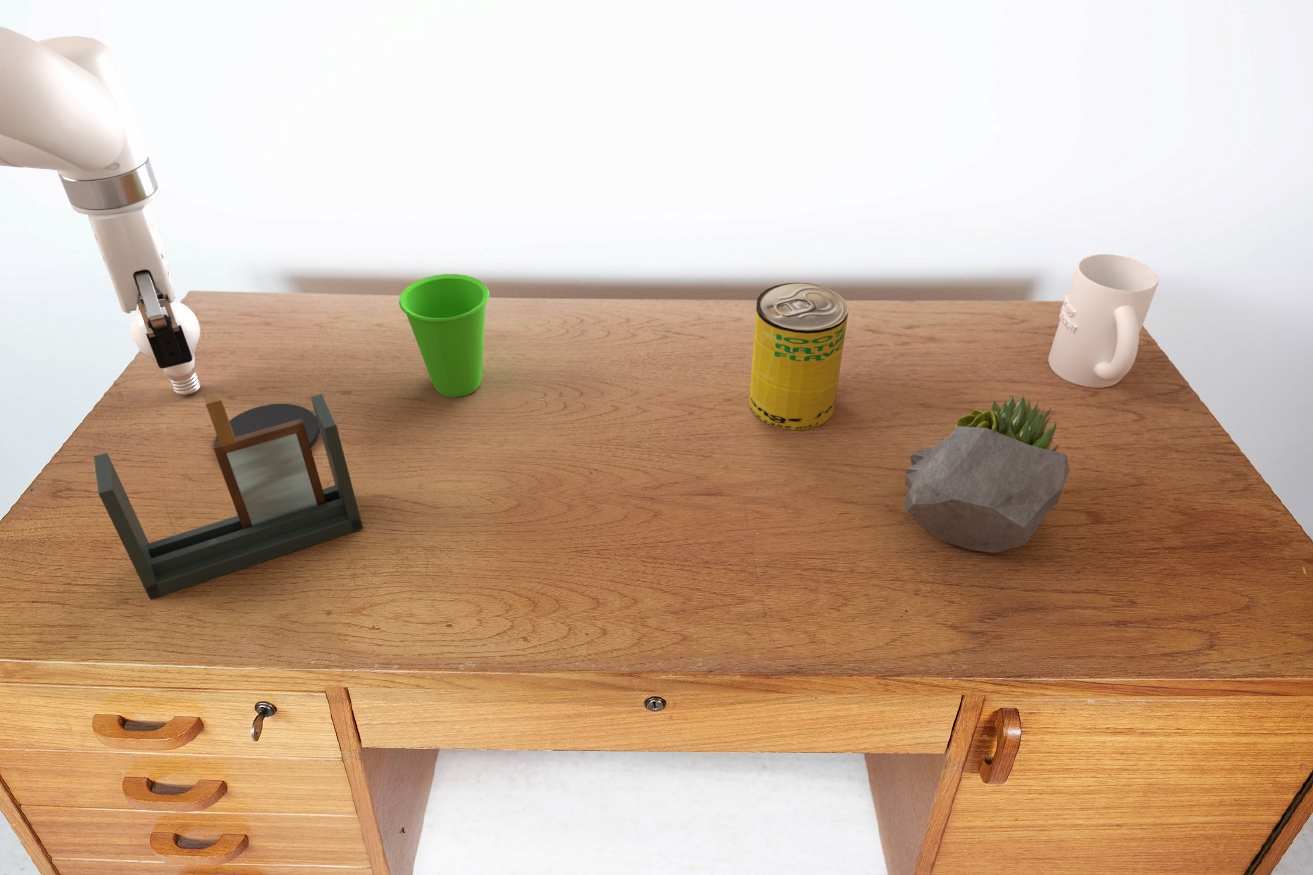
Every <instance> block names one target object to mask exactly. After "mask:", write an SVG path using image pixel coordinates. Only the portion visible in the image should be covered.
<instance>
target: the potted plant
mask: <svg viewBox="0 0 1313 875" xmlns="http://www.w3.org/2000/svg"><path fill="white" fill-rule="evenodd" d="M995 399H996V398H993V401H992V402H993V403H992V407H991V409H988V410H985V411H983V409H981V408H978V409H973V410H971V411H970V413H968V414H965V415H963V416H961V417H960V418H959V419H958V420H957V422H956V425H955V427H954V428H953V430H952V432H950V434H948V435H947V436H946V437H945V438H941V440H940V441H939V442H937V443H936V444H935V445H934V446H933V447H931V448H926V449H918V450H915V451H913V453H912V454H911V455H910V457H909V458H910V463H911V464H912V465H911V466H909V467H907V468H906V469H905V479H904V480H905V481H904V486H905V487H906V488H907V489H908V491H907V493H906V495H905V497H904V500H903V503H902V504H903V506H904V508H905V511H906V512H907V513H908V514H909V515H910V516H911V517H912V518H913V519H914V520H915V521H916V523H917V524H918V525H919V526H920V527H921V528H922V529H924V530H925V531H926V532H927V533H929V534H931V535H932V536H933V537H935V539H937V540H938V541H941V542H944V543H947V544H950V545H953V546H956V547H959V548H963V549H966V550H969V551H973V552H974V551H975V552H983V553H991V554H998V553H1002V552H1005V551H1008V550H1013V549H1015V548H1018V547H1022V546H1026V545H1027V544H1028V542H1029V541H1030V539H1031V537H1033V535H1034V533H1035V532H1036V530H1037V529H1038V527H1039V526H1040V524H1041V523H1042V521H1043V520H1044V518H1045V517H1046V516H1047V514H1049V512H1050V511H1051V510H1052V509H1053V508H1054V507H1056V505H1057V504H1058V502H1059V499H1060V497H1061V495H1062V492H1063V489H1064V486H1065V484H1066V481H1067V479H1068V476H1069V473H1070V466H1069V461H1068V456H1067V454H1066V453H1062V452H1058V451H1057V450H1058V448H1059V446H1060V443H1059V444H1057V445H1056V446H1055V447H1053V448H1052V449H1051V446H1052V442H1053V438H1054V435H1055V432H1056V429H1057V420H1056V421H1055V422H1054V425H1053V426H1052V427H1051V426H1050V427H1048V428H1047V425H1048V424H1049V421H1050V419H1051V418H1050V417H1049V414H1050V412H1051V411H1052V410H1051V409H1052V407H1049V409H1048V410H1047V412H1046V413H1045V414H1044V410H1042V411H1041V412H1040V410H1041V407H1039V402H1037V403H1036V404H1035V406H1034V407H1033V408H1032V406H1031V399H1028V401H1027V402H1026V400H1025V395H1023V396H1021V399H1020V400H1018V402H1017V403H1016V401H1015V398H1014V395H1013V394H1011V395H1010V396H1009V398H1008V401H1006V400H1004V403H1002V405H1001V406H999V404H998V403H997V401H996V400H995ZM1043 414H1044V415H1043ZM1047 418H1048V419H1047ZM1046 428H1047V430H1046Z"/></svg>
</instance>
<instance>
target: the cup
mask: <svg viewBox="0 0 1313 875" xmlns="http://www.w3.org/2000/svg"><path fill="white" fill-rule="evenodd" d="M489 299H490V290H489V288H488V287H487V286H486V284H485V283H483V282H482V281H481V280H479V279H477V278H476V277H473V276H469V275H465V274H457V273H444V274H436V275H431V276H427V277H424V278H421V279H419V280H417V281H414V282H412V283H411V284H409V285H408V286H407V287H406V288H404V290H403V291H402V293H401V294H400V296H399V299H398V300H399V301H398V304H399V307H400V310H401V311H402V312H403V313H404V314H405V315H406V316H407V320H408V322H409V324H410V328H411V330H412V333H413V335H414V338H415V341H416V344H417V346H418V349H419V351H420V354H421V356H422V359H423V362H424V364H425V367H426V370H427V372H428V375H429V378H430V380H431V382H432V385H433V387H434V388H435V390H436V391H437V393H439V394H440V395H443V396H446V397H451V398H458V397H463V396H464V397H465V396H467V395H470V394H472V393H474V392H475V391H476V390H477V389H478V388H480V385H481V383H482V381H483V366H484V347H485V346H484V344H485V343H484V342H485V327H486V307H487V303H488V301H489Z"/></svg>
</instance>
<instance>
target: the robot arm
mask: <svg viewBox="0 0 1313 875" xmlns="http://www.w3.org/2000/svg"><path fill="white" fill-rule="evenodd" d="M135 116H136V115H135V113H134V111H133V108H132V104H131V101H130V98H129V97H128V93H127V90H126V87H125V84H124V82H123V78H122V75H121V73H120V69H119V67H118V64H117V61H116V59H115V57H114V55H113V52H112V51H111V50H110V48H109V47H108V46H107V45H106V44H105V43H103V42H102V41H100V40H98V39H96V38H93V37H88V36H80V35H79V36H77V35H73V36H72V35H71V36H68V35H67V36H57V37H51V38H46V39H42V40H39V41H37V40H35V39H32V38H30V37H28V36H26V35H23V34H21V33H19V32H16V31H14V30H12V29H9V28H7V27H4V26H1V25H0V167H12V168H27V169H28V168H29V169H39V170H40V169H41V170H51V171H56V172H57V174H58V176H59V179H60V182H61V184H62V187H63V189H64V192H65V194H66V197H67V199H68V202H69V204H70V206H71V208H72V210H73V211H76V212H77V213H79V214H82V215H86V216H87V217H88V220H89V224H90V226H91V231H92V233H93V236H94V238H95V241H96V244H97V248H98V250H99V252H100V255H101V257H102V260H103V263H104V266H105V268H106V270H107V273H108V275H109V278H110V281H111V283H112V286H113V289H114V290H115V291H114V292H115V294H116V297H117V299H118V301H119V302H118V303H119V306H120V308H121V311H122V312H124V313H125V314H131V312H134V311H137V310H138V309H139V310H140V313H141V315H142V318H143V321H144V324H145V327H146V329H147V332H148V333H146V335H147V338H148V341H149V343H150V346H151V348H152V351H153V354H154V356H155V359H156V361H157V362H156V361H155V362H156V364H157V366H158V368H159V369H161V370H162V369H163V368H168V367H172V366H176V365H180V364H184V363H188V362H191V361H192V355H191V352H190V349H189V346H188V344H187V341H186V338H185V335H184V333H183V330H182V327H181V325H179V326H178V324H177V322H176V319H175V316H174V313H173V310H172V307H171V304H170V303H172V302H173V301H176V295H175V289H174V283H173V278H172V274H171V269H170V265H169V260H168V256H167V252H166V251H165V250H166V249H165V246H164V243H163V239H162V236H161V233H160V230H159V226H158V223H157V221H156V218H155V215H154V212H153V209H152V206H151V204H150V203H151V202H153V201H154V200H156V199H157V198H158V196H159V195H160V187H159V184H158V180H157V177H156V176H155V175H156V174H155V173H154V169H153V167H152V163H151V160H150V158H149V155H148V152H147V150H146V147H145V142H144V141H143V137H142V135H141V131H140V128H139V126H138V122H137V120H136V117H135ZM158 299H164V300H160V301H159V300H158ZM137 307H138V309H137ZM161 307H165V308H166V311H167V314H168V316H167V314H166V315H164V314H163V311H162V309H161Z"/></svg>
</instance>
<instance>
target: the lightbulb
mask: <svg viewBox="0 0 1313 875" xmlns="http://www.w3.org/2000/svg"><path fill="white" fill-rule="evenodd" d="M158 300H159V301H160V300H164V299H158ZM170 304H171V307H172V310H173V313H174V316H175V319H176V322H177V324H178V326H179V325H181V327H182V330H183V333H184V335H185V338H186V341H187V344H188V346H189V349H190V352H191V355H192V361H191V362H188V363H184V364H180V365H176V366H172V367H168V368H163V369H162V368H161V370H162V371H163V372H164V373H165V374H166V375H167V378H168V380H169V382H170V385H171V388H172V390H173V392H174V394H177V395H179V396H180V395H181V396H187V395H192V394H193V393H195V392H197V391H198V390H199V389H200V387H201V382H200V379H199V377H198V374H197V371H196V368H195V364H196V357H195V356H196V355H195V353H196V350H197V347H198V345H199V342H200V340H201V339H200V338H201V326H200V322H199V319H198V318H197V316H196V314H195V313H194V311H192V310H191V308H190V307H189V306H187V305H186V304H184V303H182V302H180V301H178V300H174V301H173V302H172V303H170ZM161 309H162V311H163V314H164V315H166V314H167V311H166V308H165V307H161ZM167 316H168V314H167ZM146 333H148V332H147V329H146V327H145V324H144V321H143V318H142V315H141V313H140V310H139V308H138V309H136V312H135V313H134V315H133V316H132V319H131V322H130V335H131V339H132V341H133V343H134V345H135V346H136V348H137V350H139V351H140V352H141V354H143V355H145V356H146V357H147V358H149V359H151V360H153V361H154V362H155V363H157V361H156V359H155V356H154V354H153V351H152V348H151V346H150V343H149V341H148V338H147V335H146Z"/></svg>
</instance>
